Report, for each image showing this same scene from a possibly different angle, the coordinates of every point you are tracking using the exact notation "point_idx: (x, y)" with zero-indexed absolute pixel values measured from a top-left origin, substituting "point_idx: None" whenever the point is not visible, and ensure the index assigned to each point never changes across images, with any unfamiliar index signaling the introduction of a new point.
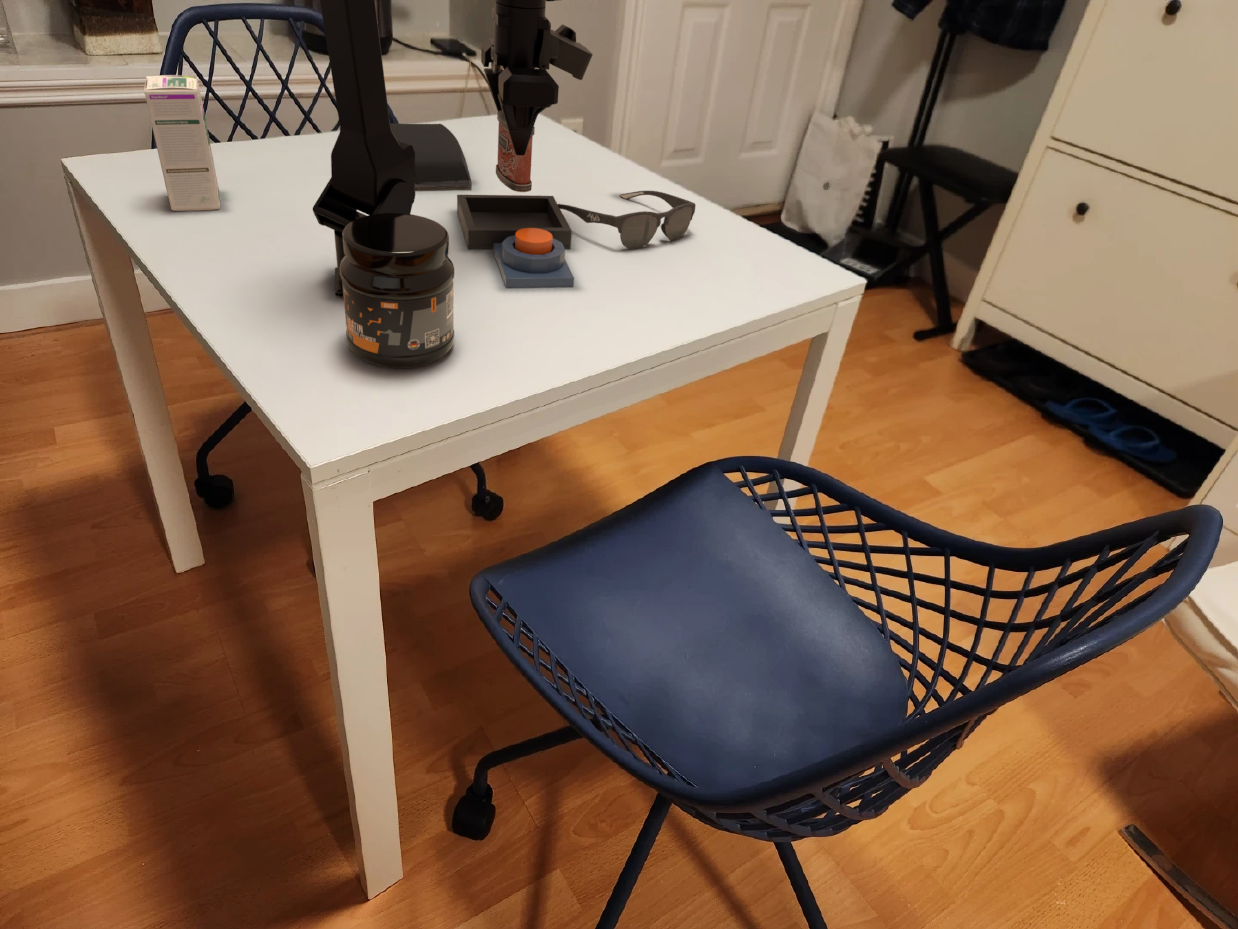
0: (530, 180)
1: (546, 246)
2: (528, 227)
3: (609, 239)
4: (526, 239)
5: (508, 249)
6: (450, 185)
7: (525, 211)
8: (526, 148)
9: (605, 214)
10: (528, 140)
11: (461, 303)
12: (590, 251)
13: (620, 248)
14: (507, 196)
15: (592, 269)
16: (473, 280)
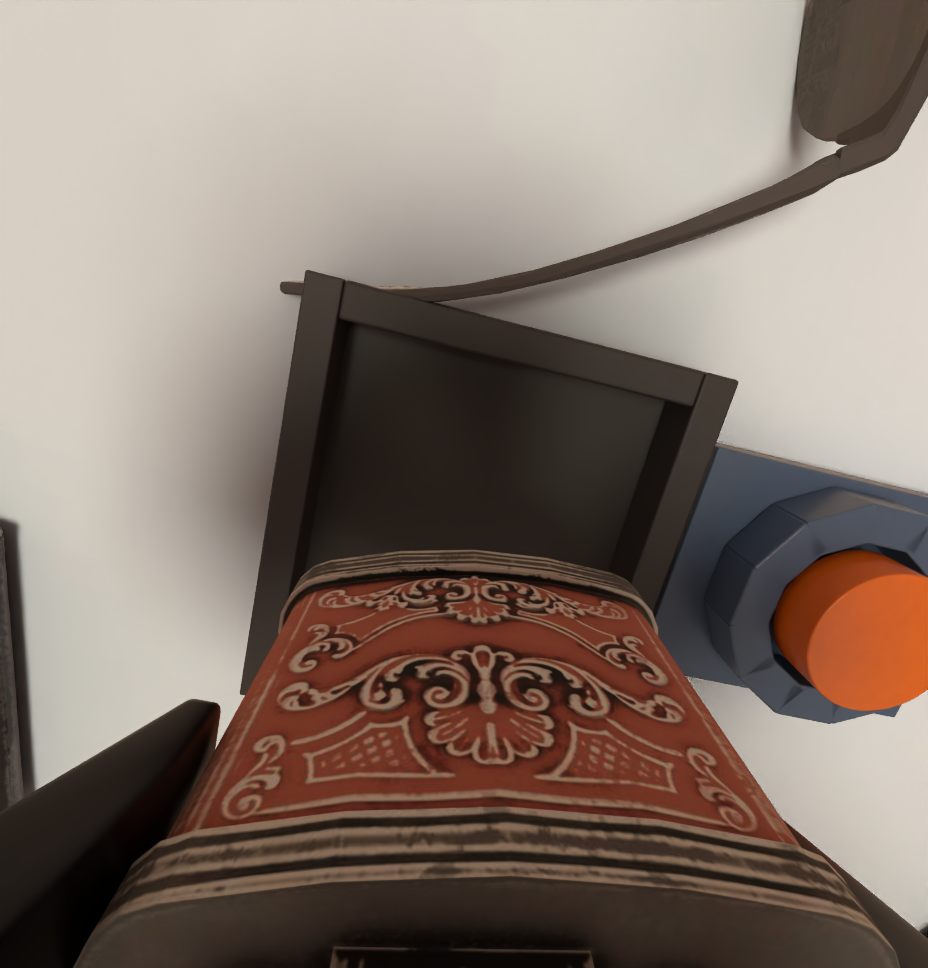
0: (597, 588)
1: None
2: (491, 467)
3: (670, 139)
4: (909, 688)
5: (838, 712)
6: (7, 613)
7: (332, 415)
8: (814, 847)
9: (805, 177)
10: (897, 921)
11: (888, 821)
12: (747, 298)
13: (773, 138)
14: (287, 504)
15: (887, 371)
16: (782, 757)
